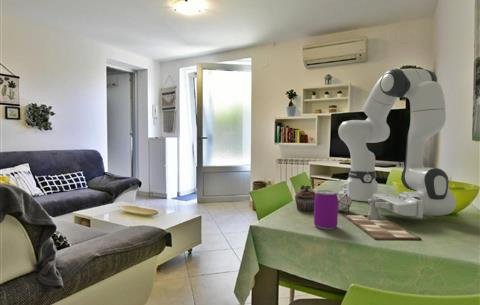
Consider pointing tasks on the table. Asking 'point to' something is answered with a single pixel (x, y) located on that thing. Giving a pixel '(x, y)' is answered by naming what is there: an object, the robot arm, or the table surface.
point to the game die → (344, 202)
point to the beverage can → (326, 209)
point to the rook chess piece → (373, 210)
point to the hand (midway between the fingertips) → (371, 203)
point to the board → (381, 228)
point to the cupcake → (305, 199)
